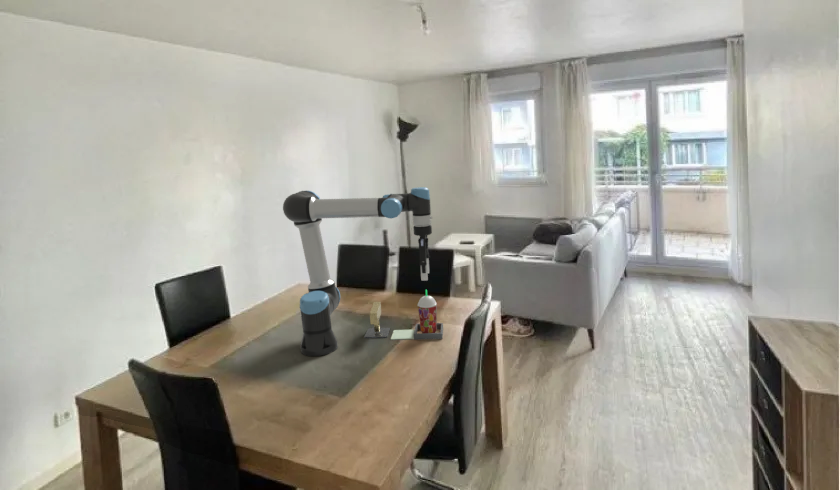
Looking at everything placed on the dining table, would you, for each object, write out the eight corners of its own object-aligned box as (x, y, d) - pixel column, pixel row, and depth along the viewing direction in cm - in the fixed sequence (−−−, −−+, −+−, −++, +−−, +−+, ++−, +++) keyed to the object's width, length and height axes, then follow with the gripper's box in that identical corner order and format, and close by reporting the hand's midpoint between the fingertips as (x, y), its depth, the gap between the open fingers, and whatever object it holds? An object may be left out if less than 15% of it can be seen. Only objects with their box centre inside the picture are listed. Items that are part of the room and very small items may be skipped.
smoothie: (439, 330, 219) (436, 286, 215) (438, 337, 211) (435, 292, 207) (420, 330, 220) (417, 287, 216) (418, 337, 212) (415, 293, 208)
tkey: (378, 337, 212) (376, 312, 210) (371, 337, 212) (369, 313, 210) (382, 324, 227) (380, 301, 224) (375, 324, 227) (373, 301, 225)
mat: (390, 339, 212) (390, 338, 212) (393, 330, 221) (393, 330, 221) (414, 339, 211) (414, 338, 211) (416, 330, 221) (416, 329, 220)
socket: (414, 339, 210) (413, 334, 210) (416, 329, 222) (416, 323, 222) (442, 338, 209) (442, 333, 209) (443, 328, 221) (443, 322, 220)
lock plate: (364, 338, 215) (364, 336, 215) (368, 329, 225) (368, 328, 225) (387, 337, 214) (386, 336, 214) (390, 328, 224) (390, 327, 224)
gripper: (429, 229, 194) (432, 284, 199) (432, 220, 217) (435, 269, 221) (410, 230, 195) (414, 284, 200) (415, 220, 217) (418, 270, 222)
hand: (425, 276), depth 210 cm, fingers open, 10 cm apart
